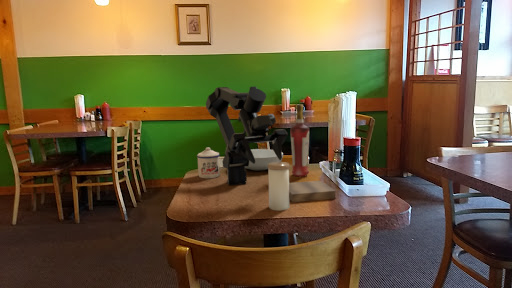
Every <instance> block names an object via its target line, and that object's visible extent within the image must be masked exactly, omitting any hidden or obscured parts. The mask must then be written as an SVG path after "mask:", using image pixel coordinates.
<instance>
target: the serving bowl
mask: <svg viewBox="0 0 512 288" xmlns="http://www.w3.org/2000/svg"><path fill="white" fill-rule="evenodd" d="M250 149H251V148H250ZM251 151H252V153H253V156H254V158H255V164H253V163H252V162H251V161H249V166H245V169H248V170H250V171H251V170H252V171H265V170H267V171H268V166H267V164H269V163H272V162H282V160H283V157H284V153H283V152H282V159H281V160H279V159H278V157H277V156H276V154H275V152H274V151H273V149H270V148H269V149H268V148H260V149H259V148H255V149H254V148H253V149H251Z"/></svg>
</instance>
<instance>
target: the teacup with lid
mask: <svg viewBox="0 0 512 288" xmlns="http://www.w3.org/2000/svg"><path fill="white" fill-rule="evenodd" d="M196 157H197V169H198V174H197V175H198V177H199V178H201V179H214V178H218V177H220V175H221V170H223V169H226V168H225V167H223V166H222V167H221V166H220V160H223V159H224V156H223V157H222V156H221V155H220V152H218V151H214V150H213V149H211V147H205V149H204V150H203V151H201V152H198V154H197V155H196Z"/></svg>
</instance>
